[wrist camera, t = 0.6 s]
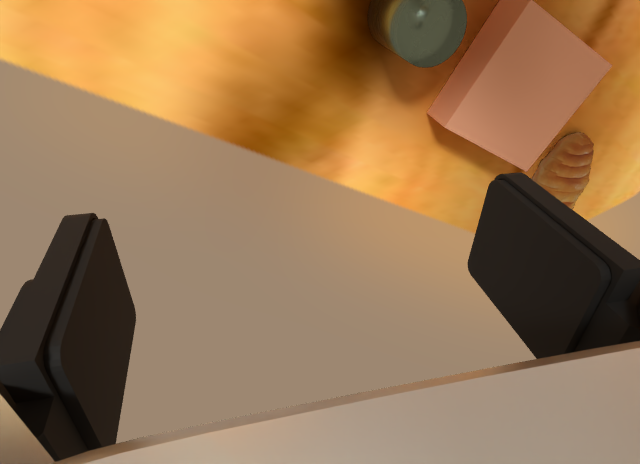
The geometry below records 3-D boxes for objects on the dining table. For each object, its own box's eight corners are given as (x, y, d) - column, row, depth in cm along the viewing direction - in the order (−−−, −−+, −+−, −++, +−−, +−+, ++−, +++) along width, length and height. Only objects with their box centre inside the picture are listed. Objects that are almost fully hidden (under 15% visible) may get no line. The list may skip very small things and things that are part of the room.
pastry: (548, 129, 48) (572, 142, 45) (596, 130, 50) (622, 143, 47) (517, 201, 53) (537, 217, 50) (562, 200, 55) (583, 216, 52)
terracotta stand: (503, -7, 38) (531, -1, 35) (582, 55, 44) (612, 65, 41) (426, 112, 43) (444, 127, 40) (505, 155, 49) (526, 171, 46)
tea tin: (390, -37, 35) (426, -30, 30) (439, -2, 38) (480, 11, 32) (355, 29, 37) (383, 46, 32) (404, 58, 40) (437, 79, 34)
